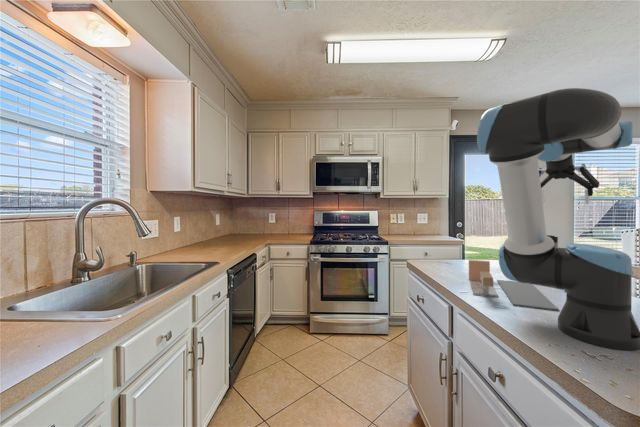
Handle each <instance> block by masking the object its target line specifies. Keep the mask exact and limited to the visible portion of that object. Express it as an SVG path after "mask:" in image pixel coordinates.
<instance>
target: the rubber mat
mask: <svg viewBox="0 0 640 427" xmlns="http://www.w3.org/2000/svg"><path fill="white" fill-rule="evenodd" d="M496 281H497V283H498V285H499V286H500V288H501V290H502V291H503V293H504V294H505V296H506V297H507V298H508V300H509V302H510V303H511V305H512V306H514V307H521V308H528V309H529V308H531V309H537V310H546V311H547V310H548V311H554V312H556V311H557V312H559V311H560V309H559V308H558V307H557V306H556V305H555V304H554V303H553V302H552V301H551V300H550V299H549V298H548V297H547V296H546V295H544V293H542V292H541V291H540V290H539V289H538V288H537V287H535V284H529V283H521V282H518V281H514V280H505V279H504V280H501V279H496Z"/></svg>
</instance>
